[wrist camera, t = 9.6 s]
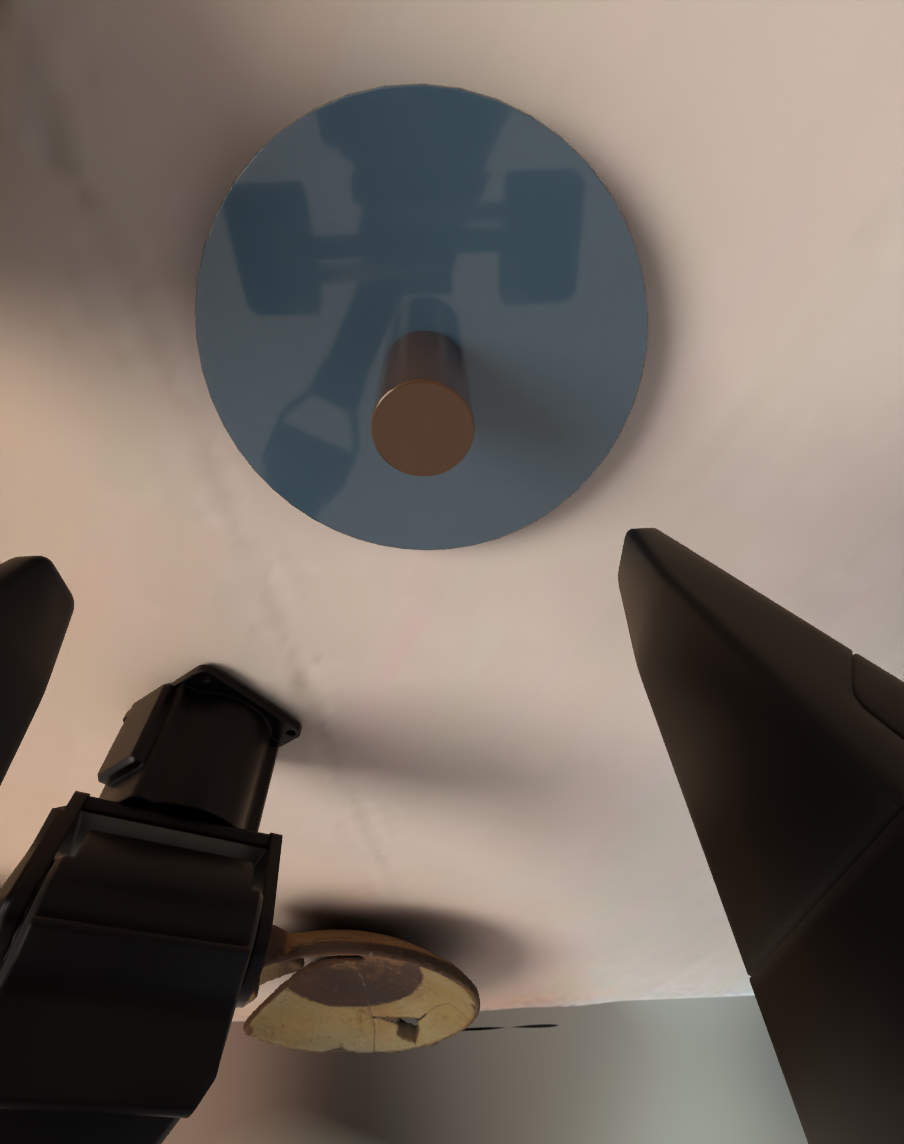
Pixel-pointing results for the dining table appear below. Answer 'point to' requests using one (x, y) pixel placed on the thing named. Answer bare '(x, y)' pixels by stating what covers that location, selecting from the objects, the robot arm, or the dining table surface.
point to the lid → (421, 317)
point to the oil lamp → (359, 994)
